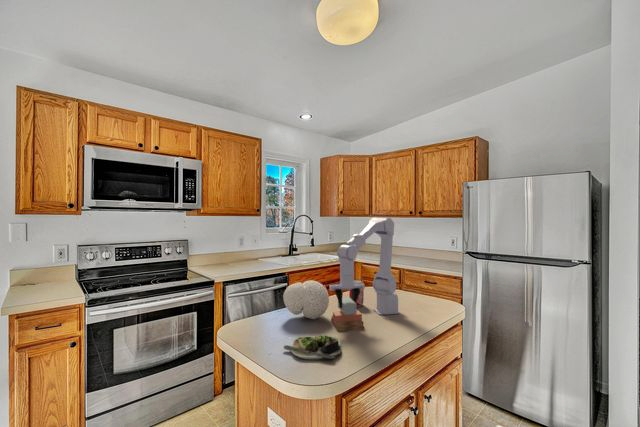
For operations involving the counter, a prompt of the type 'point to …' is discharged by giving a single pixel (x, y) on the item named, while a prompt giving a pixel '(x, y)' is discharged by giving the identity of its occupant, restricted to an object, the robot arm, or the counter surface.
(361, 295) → the soda can
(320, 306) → the white rounded lumpy piece
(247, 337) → the counter surface
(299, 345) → the salad plate
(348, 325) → the jig
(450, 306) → the counter surface
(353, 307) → the gray block
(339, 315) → the terracotta brick
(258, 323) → the counter surface
